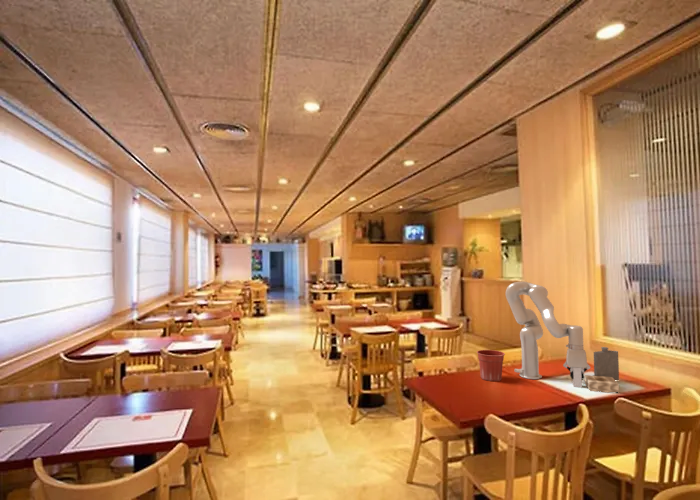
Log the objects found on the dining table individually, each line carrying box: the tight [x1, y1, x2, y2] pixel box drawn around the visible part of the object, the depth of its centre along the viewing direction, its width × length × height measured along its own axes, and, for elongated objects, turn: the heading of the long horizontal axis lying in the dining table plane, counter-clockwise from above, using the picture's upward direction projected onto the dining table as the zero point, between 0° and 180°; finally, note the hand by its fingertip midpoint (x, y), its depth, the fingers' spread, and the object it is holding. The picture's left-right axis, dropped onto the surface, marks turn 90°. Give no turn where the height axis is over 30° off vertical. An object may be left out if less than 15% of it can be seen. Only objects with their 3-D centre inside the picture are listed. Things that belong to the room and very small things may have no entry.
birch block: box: [584, 374, 620, 394], centre depth 225 cm, size 14×14×5 cm
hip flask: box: [593, 346, 620, 381], centre depth 239 cm, size 16×4×20 cm, turn 100°
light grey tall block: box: [572, 367, 583, 388], centre depth 230 cm, size 4×4×11 cm
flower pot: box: [476, 349, 506, 382], centre depth 247 cm, size 16×16×16 cm
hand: (577, 378), depth 230 cm, fingers closed on light grey tall block, 4 cm apart
